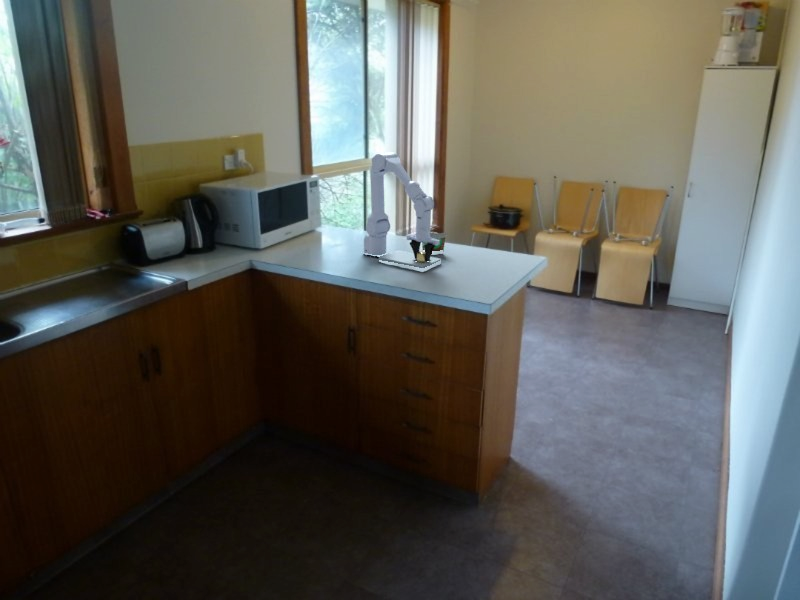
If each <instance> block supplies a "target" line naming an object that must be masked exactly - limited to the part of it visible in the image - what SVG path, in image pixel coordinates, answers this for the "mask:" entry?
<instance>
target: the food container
mask: <svg viewBox="0 0 800 600" xmlns="http://www.w3.org/2000/svg"><path fill="white" fill-rule="evenodd" d="M447 235H448V234H447V232H446V231H445V232H437V231H430V237H431V238H434V239H437V240H439V245H437V246H435V247H434V249H433V251H440V250H443V251H444V248H445V242H446V238H447V237H448V236H447ZM421 243H422V244H421V246H422V251H423V250H425V247H424V245H426V244H427V243H423V242H421Z"/></svg>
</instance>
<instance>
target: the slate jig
mask: <svg viewBox="0 0 800 600" xmlns="http://www.w3.org/2000/svg"><path fill="white" fill-rule="evenodd" d="M387 253H388V254H386V255H383V256H380V257H379V258H378V261H379V260H382V261H388V262H394V263H398V264H404V265H409V266H414V267H419V268H425V267H427V266H430V265H432V264H434V263H436V262H438V261H440V260H441V261H442V258H439V257H434V256H431V257H430V260H429V262H427V263H425V264H424V263H420V262H415V261H417V259H415V257H414V253H413V252H409V251H405V250H402V249H401V250H399V249H397V250H394V251H390V252H387Z"/></svg>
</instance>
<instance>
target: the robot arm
mask: <svg viewBox="0 0 800 600" xmlns="http://www.w3.org/2000/svg"><path fill="white" fill-rule="evenodd" d="M369 173H370V177H369V179H370V202H371V204H370V205H371V213H370V214H369V216H368V217H367V221H366V225H365V230H366V233H367V234H365V236H364V238H363V253H368V254H372V255H382V254H385V253H387V236H388V233H389V231H390V230H391V224H390V220H389V215H388V214H386V213H385V184H384V183H385V181H384V179H385V178H384V177H385V176H384V175H386V174H387V173H393V174H394V175H395V176H396V178H397V179H398V180H399V182H400V183H402V185H403V186H404V192H405V194H406V195H407V196H408V197H409V198H410V200H411V201H412V203H413V208H414V211H415V216H416V219H415V220H416V222H415V223H416V224H415V234H407V235H406V241H409V245H410V247H411V249H412V253H414V257H415V259H417V252H420V250H421V249H420V248H421V245H422V244H421V243H422V242H423V243H427V244H426V245H424V247H425V260H426V261H429V260H430V257H432V255H431V254H432V251H433V249H434V247H435V246H437V245H439V240H437V239H434V238H431V237H430V232H431V221H432V220H431V218H432V210H433V209H434V206H435V202H434V199H433V197H432V196H430V195H428V194H426V193H425V192H424V191H423V189H422V187H420V186H421V185H420V183H418V182H416V181H412V179H411V177H410V176H409V174H408V173H407V171H406V170H405V168H404V167H403V165H402V163H401V159H400V157H399V155H398V154H397V153H396V152H394V151H391V152H385V153H376V154H375V155H374V156H373V157H372V158H371V166H370V172H369Z"/></svg>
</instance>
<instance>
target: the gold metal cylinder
mask: <svg viewBox="0 0 800 600" xmlns="http://www.w3.org/2000/svg"><path fill="white" fill-rule="evenodd" d="M417 262H420V263H424V264H425V263H427V261H426V260H425V252H423V250H422V251H421V250H420V251H419V252H417Z"/></svg>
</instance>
